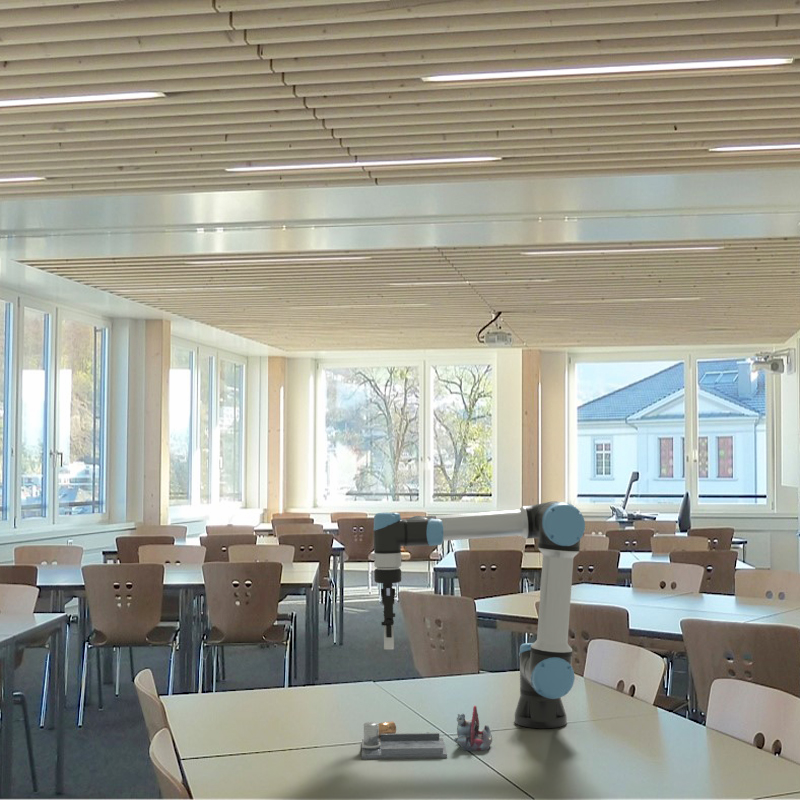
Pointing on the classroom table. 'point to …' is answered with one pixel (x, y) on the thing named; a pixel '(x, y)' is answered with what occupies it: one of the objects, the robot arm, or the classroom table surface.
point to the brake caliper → (472, 733)
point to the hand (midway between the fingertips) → (388, 645)
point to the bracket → (400, 744)
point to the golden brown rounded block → (387, 728)
